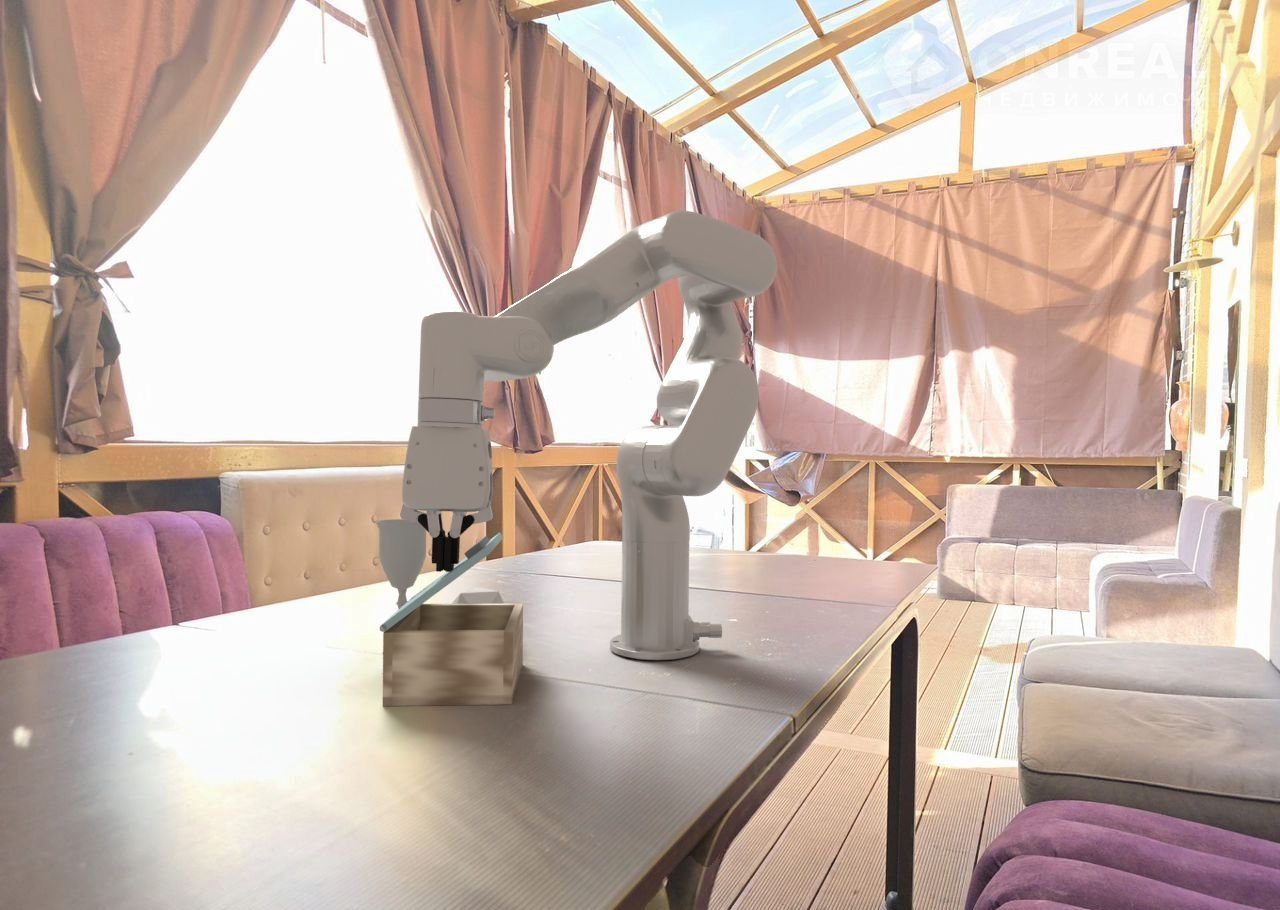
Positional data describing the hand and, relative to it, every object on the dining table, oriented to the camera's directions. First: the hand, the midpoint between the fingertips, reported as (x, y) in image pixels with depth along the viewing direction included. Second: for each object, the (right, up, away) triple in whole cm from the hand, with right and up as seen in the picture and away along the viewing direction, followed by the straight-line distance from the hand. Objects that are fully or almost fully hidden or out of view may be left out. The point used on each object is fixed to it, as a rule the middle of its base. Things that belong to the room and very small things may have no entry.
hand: (445, 569), depth 94 cm
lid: (0, -1, 0) cm, 1 cm away
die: (0, -14, +19) cm, 23 cm away
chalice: (-10, -14, +15) cm, 22 cm away
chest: (+1, -14, +1) cm, 14 cm away
